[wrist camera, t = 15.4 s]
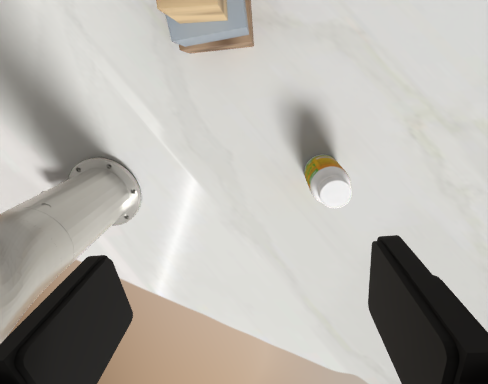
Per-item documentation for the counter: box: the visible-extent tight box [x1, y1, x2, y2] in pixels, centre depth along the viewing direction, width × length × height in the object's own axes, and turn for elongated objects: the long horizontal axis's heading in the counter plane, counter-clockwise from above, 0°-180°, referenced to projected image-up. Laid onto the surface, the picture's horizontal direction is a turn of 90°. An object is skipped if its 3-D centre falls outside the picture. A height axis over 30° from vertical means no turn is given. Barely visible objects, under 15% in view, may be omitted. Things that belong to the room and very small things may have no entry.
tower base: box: [179, 0, 254, 53], centre depth 32 cm, size 9×9×5 cm
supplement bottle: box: [304, 155, 352, 208], centre depth 37 cm, size 5×5×10 cm
